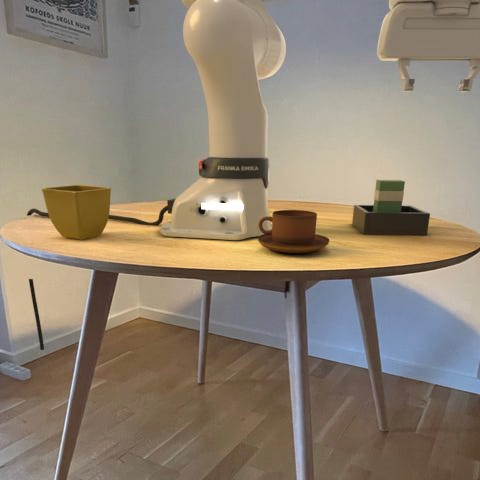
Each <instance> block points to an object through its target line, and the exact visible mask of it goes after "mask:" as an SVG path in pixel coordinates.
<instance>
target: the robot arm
mask: <svg viewBox="0 0 480 480" xmlns="http://www.w3.org/2000/svg"><path fill="white" fill-rule="evenodd" d="M180 1H181V2H182V3H183V5H184V6H185V7H186V8H187V9H188V10H187V12H186V14H185V17H184V19H183V25H182V37H183V43H184V46H185V48H186V51H187V53H188V54H189V55H190V57H191V58H192V60H193V62H194V64H195V66H196V69H197V73H198V75H199V79H200V83H201V86H202V91H203V94H204V95H203V96H204V98H205V99H204V100H205V104H206V110H207V119H208V122H207V123H208V148H209V149H208V153H209V155H208V157H207V158H201V159H200V160H199V161H198V175H199V178H198V179H197V180H196V181H195V182H193V183H192V184H191V185H189V186H188V187H187V188H186V189H185V190H183V192H182V193H180V194H179V195H178V196H177V197H176V198H171V199H167V201H166V202H167V204H166V206H164V207H162V209H160V210H159V214H158V219H157V220H155V221H152V222H149V221H146V220H143V219H139V218H136V217H131V216H130V217H129V216H121V215H114V214H109V218H108V220H112V221H113V220H115V221H120V222H121V221H122V222H130V223H134V224H138V225H141V226H153V227H154V226H156V227H157V226H159V225H161V224H162V223H163V221H164V215H165V214H166V213H167V214H170V215H171V216H170V220H169V221H167V222H165V223H163V224H162V225H161V227H160V230H159V231H160V233H159V234H160V235H162V236H164V237H174V238H190V239H191V238H193V239H207V240H208V239H210V240H226V241H227V240H229V241H241V240H245V239H249V238H254V237H259V236H260V235H263V234H264V233H262V232H261V231H260V229H259V221H260V219H261V218H263V217H266V216H269V217H271V216H270V210H269V202H268V201H269V200H268V187H269V184H270V160H269V158H268V129H269V115H268V111H267V108H266V106H265V103H264V101H263V97H262V93H261V89H260V82H259V80H263V79H267V78H269V77H272V76H273V75H275V74H276V73H277V72H278V71H279V70H280V69H281V67H282V66H283V64H284V61H285V59H286V55H287V44H286V43H287V42H286V39H285V36H284V35H283V32H282V30H280V28H279V26H278V25H277V23H276V22H275V21H274V19H273V18H272V16H271V14H270V12H269V11H268V9H267V8H266V6H265V5H264V3H263V1H262V0H180ZM388 8H389V11H388V12H387V13H386V14H385V16H384V18H383V20H382V23H381V27H380V30H379V35H378V42H377V48H376V55H377V57H378V59H379V60H380V61H383V62H384V61H386V62H387V61H388V62H389V61H390V62H391V61H393V62H397V68H396V69H397V72H398V74H399V76H400V78H401V81H402V83H401V92H414V89H415V87H414V86H415V81H416V78H411V77H410V74H409V72H408V69H407V68H409V67H410V65H411V62H468V69H470V70H469V73H468V74H467V75H466V77H465V78H463V79H460V80H459V82H458V85H459V86H458V89H457V91H458V93H468V92H471V91H472V88H473V82H474V79H475V78H476V77H477V75H478V74H479V73H480V0H388ZM34 213H35V214H36V215H39V216H40V217H45V218H50V217H49V214H48V212H44V211H41V210H39V209H37V208H30V209H29V210H28V211H27V213H26V216H30V217H31V216H32V215H33V214H34ZM262 227H263V229H264V230H266V231H268V230H271V229H272V222H271V221H269V220H266V221H264V222H263V224H262ZM28 283H29V290H30V294H31V302H32V306H33V307H32V308H33V312H34V318H35V323H36V329H37V330H36V331H37V336H38V341H39V349H40V351H44V350H45V345H44V337H43V331H42V325H41V319H40V313H39V307H38V302H37V297H36V291H35V285H34V278H28Z"/></svg>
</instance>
